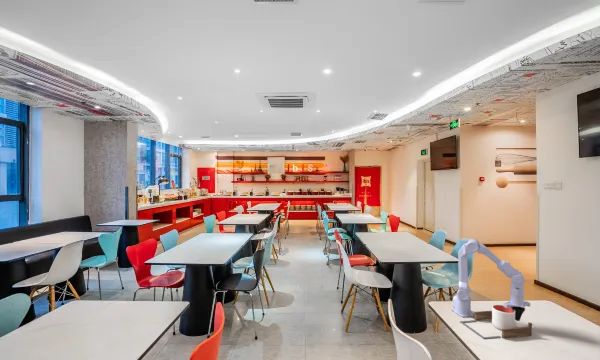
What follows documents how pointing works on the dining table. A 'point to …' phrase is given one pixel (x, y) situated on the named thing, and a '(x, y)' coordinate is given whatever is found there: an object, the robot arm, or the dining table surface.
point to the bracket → (477, 332)
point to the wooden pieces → (506, 331)
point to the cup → (503, 317)
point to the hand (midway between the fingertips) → (516, 320)
